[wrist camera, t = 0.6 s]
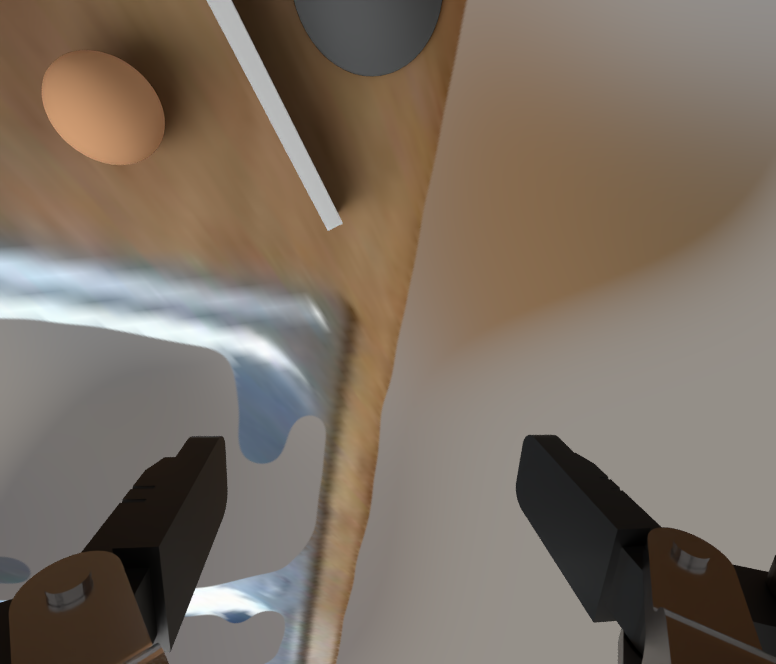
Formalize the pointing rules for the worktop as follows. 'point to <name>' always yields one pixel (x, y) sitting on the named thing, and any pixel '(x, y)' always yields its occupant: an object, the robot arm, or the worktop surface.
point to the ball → (103, 107)
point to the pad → (369, 31)
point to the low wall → (274, 108)
